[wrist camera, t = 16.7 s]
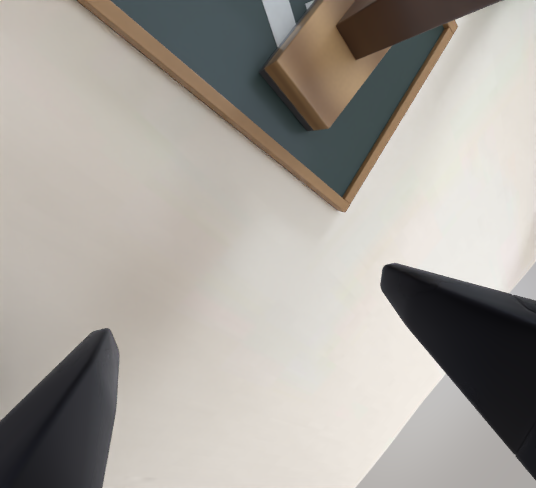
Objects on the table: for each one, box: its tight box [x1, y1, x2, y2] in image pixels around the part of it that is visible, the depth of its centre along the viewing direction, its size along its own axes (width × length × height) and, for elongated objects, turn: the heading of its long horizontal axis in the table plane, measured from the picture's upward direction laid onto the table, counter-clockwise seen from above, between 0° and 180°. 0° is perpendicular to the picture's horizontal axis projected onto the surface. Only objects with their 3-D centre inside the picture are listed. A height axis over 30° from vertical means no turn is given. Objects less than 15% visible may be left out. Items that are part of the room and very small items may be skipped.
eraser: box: [259, 0, 502, 131], centre depth 15 cm, size 11×5×12 cm, turn 138°
